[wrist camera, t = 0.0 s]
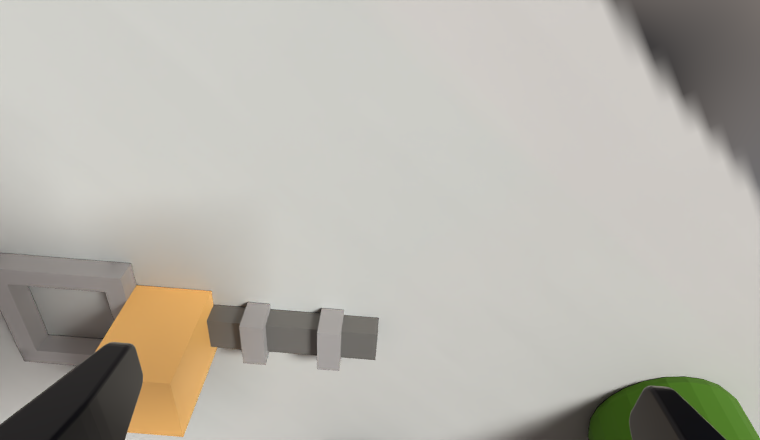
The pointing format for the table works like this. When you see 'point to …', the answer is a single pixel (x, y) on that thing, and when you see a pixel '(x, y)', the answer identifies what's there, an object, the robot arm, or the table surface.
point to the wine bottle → (705, 397)
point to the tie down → (170, 332)
